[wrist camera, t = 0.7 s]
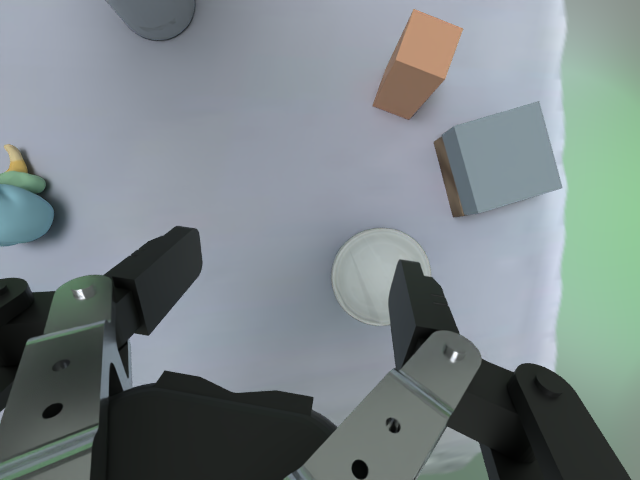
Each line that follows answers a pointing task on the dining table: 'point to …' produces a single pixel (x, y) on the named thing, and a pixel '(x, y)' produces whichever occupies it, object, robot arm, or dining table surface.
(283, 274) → the dining table surface
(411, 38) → the terracotta block
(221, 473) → the robot arm
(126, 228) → the dining table surface
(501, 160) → the slate top slab
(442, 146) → the walnut base slab
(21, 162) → the toy flower bud
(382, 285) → the ramekin
